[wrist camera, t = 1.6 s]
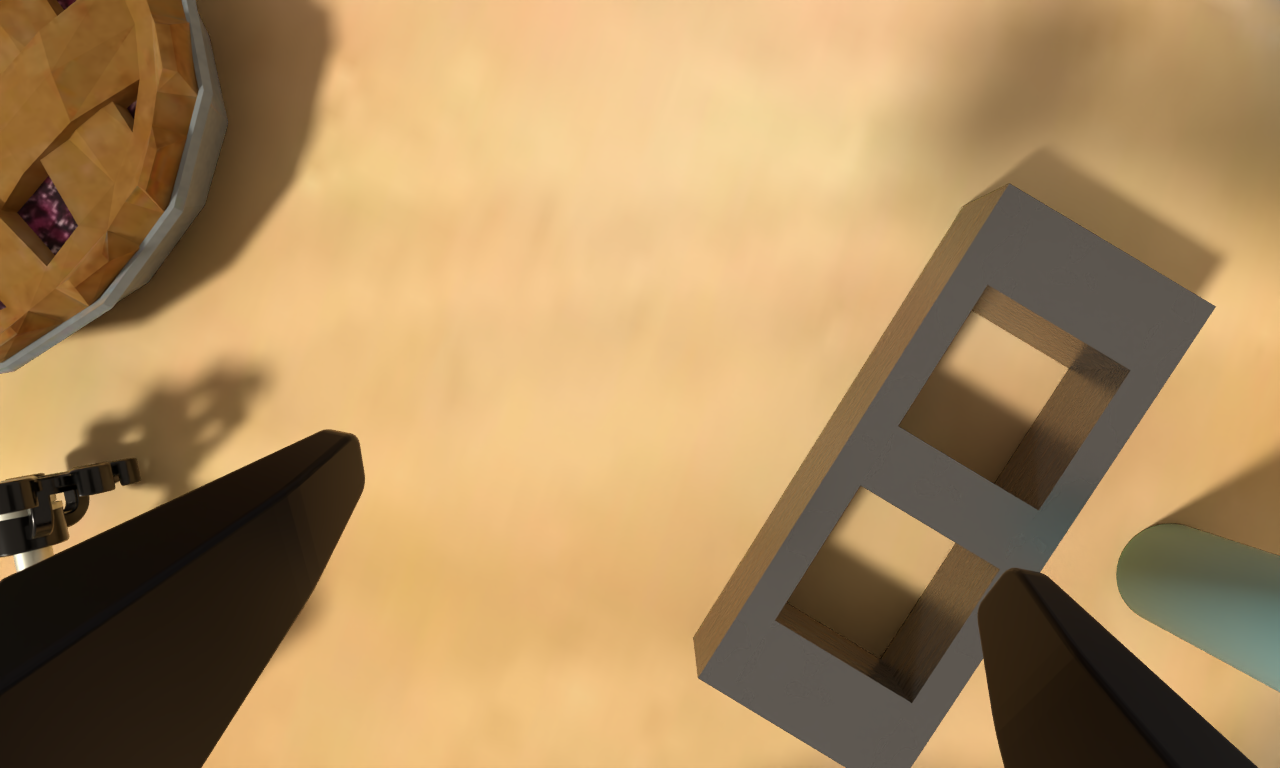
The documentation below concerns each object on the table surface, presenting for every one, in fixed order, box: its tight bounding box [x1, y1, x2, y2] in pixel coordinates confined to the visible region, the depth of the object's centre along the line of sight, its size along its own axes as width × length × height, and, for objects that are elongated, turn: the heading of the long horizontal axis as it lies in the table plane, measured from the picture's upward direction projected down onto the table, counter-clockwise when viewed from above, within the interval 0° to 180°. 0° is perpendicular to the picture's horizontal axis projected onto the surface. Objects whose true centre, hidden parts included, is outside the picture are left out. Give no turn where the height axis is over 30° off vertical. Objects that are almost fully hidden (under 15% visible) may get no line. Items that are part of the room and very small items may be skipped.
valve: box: [0, 458, 141, 572], centre depth 22 cm, size 7×7×12 cm
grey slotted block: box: [693, 183, 1216, 768], centre depth 22 cm, size 20×8×3 cm, turn 149°
